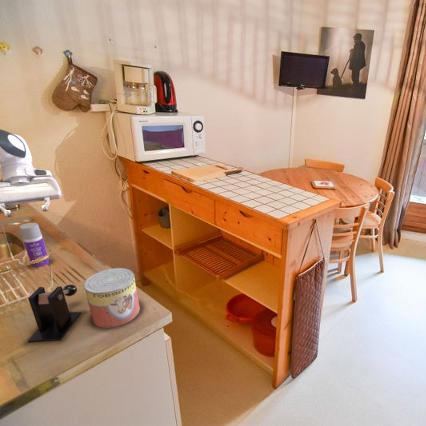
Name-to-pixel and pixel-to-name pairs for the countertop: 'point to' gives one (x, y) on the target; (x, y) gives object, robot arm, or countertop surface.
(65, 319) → the bracket
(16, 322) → the countertop surface
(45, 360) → the countertop surface
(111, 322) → the canned food
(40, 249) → the container
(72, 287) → the lever
